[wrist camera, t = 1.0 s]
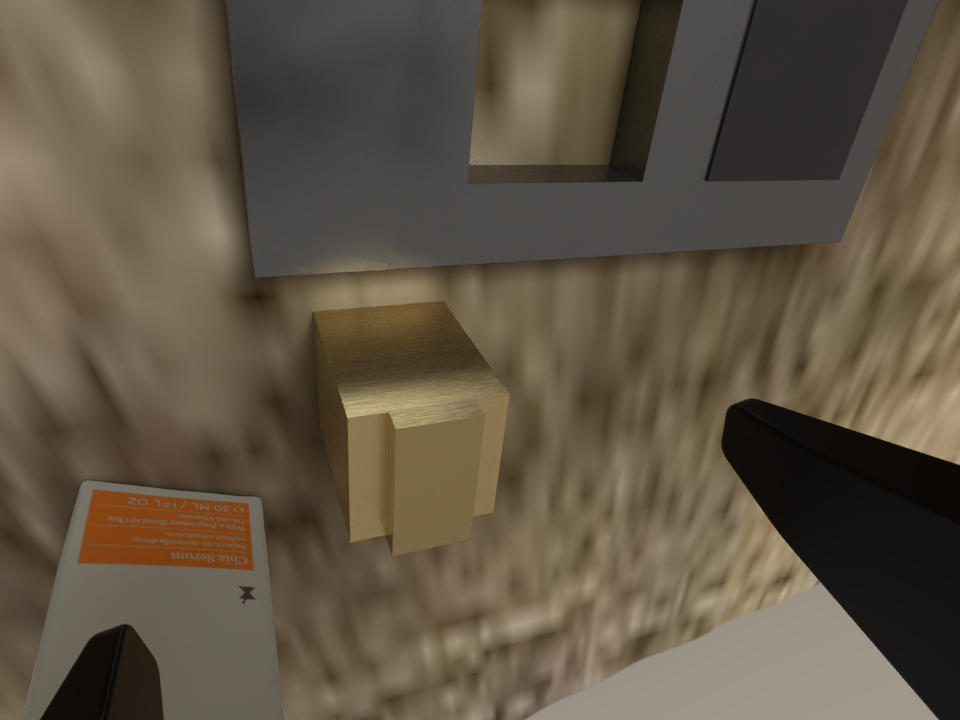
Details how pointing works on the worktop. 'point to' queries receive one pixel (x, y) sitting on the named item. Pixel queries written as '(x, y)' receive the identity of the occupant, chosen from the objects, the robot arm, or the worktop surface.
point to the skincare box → (168, 598)
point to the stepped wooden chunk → (408, 423)
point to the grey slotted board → (557, 188)
